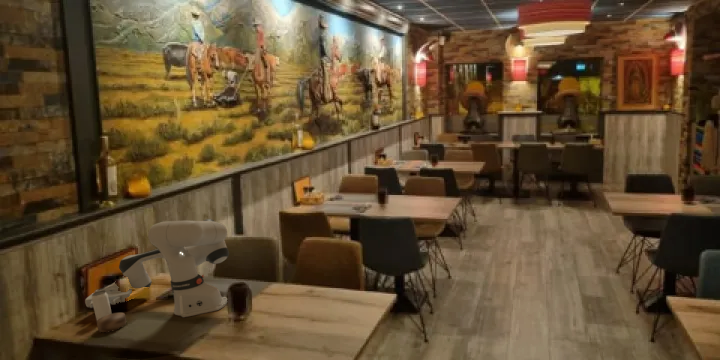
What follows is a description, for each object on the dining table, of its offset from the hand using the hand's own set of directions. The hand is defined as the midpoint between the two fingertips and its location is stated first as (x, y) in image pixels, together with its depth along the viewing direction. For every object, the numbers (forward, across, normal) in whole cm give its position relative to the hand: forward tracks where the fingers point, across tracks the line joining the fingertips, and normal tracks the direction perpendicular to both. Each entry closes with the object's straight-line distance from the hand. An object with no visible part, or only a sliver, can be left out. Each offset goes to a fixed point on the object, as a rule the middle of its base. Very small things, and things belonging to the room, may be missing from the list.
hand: (101, 304), depth 251 cm
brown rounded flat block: (+13, -9, -6) cm, 17 cm away
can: (+1, 0, -7) cm, 7 cm away
